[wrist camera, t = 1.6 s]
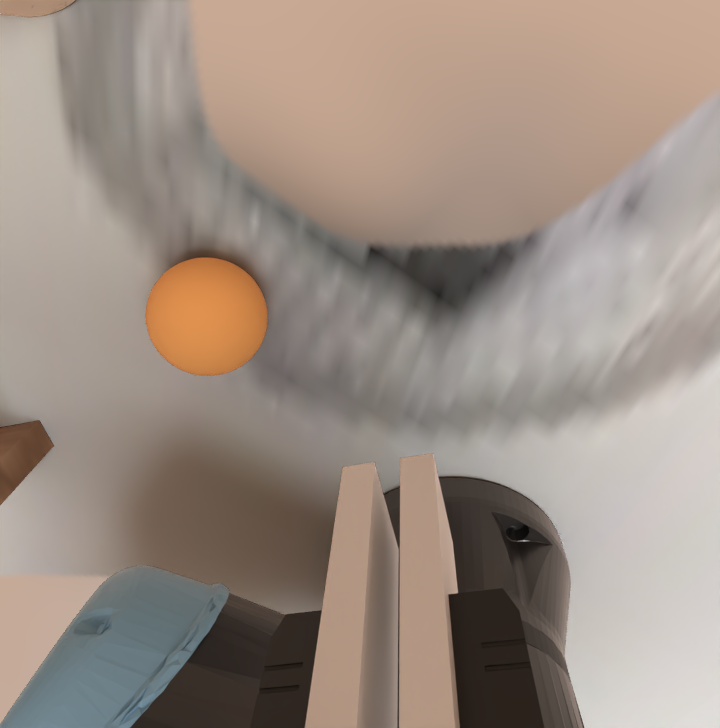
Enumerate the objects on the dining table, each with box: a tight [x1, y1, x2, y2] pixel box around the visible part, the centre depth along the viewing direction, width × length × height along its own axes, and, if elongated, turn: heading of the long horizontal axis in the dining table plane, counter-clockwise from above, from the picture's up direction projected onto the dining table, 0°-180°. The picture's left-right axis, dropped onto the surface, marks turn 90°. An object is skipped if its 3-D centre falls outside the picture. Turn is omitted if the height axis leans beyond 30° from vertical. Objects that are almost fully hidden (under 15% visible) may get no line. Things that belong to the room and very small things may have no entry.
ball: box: [146, 257, 268, 376], centre depth 30 cm, size 6×6×6 cm
